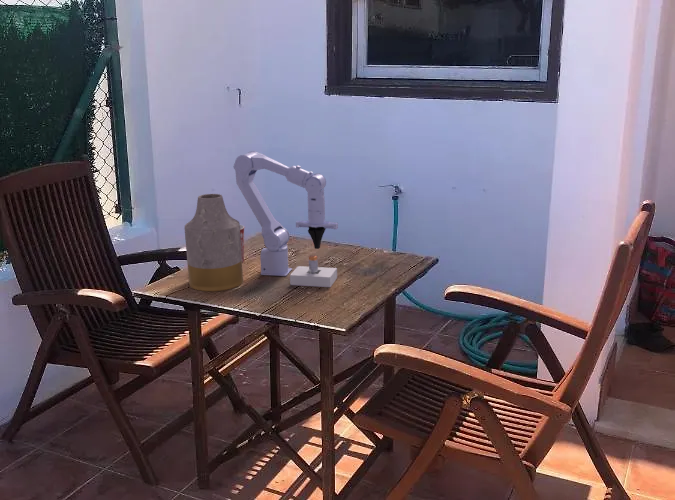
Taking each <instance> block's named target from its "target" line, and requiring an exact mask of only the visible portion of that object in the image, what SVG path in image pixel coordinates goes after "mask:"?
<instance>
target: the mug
mask: <svg viewBox="0 0 675 500" xmlns="http://www.w3.org/2000/svg"><path fill="white" fill-rule="evenodd" d="M245 228H246V227H245V226H244V225H243V224H240V238H241V254H242V264H244V262H245Z"/></svg>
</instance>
